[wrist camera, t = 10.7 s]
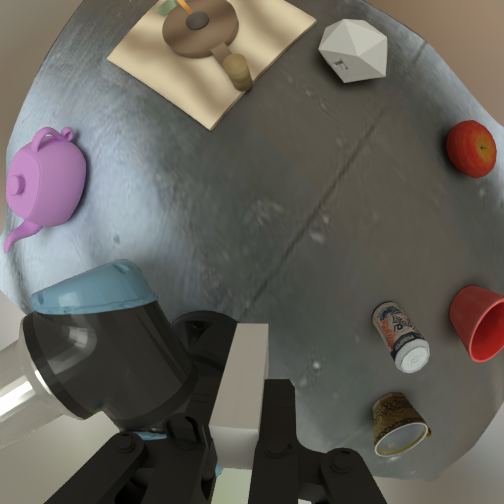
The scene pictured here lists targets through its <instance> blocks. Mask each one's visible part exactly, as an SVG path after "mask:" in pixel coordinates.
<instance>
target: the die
mask: <svg viewBox="0 0 504 504" xmlns="http://www.w3.org/2000/svg"><path fill="white" fill-rule="evenodd" d="M318 50H319V51H320V53H321V54H322V56H323V57H324V59H325V60H326V62H327V63H328V64H329V65H330V66H331V68H332V69H333V70H334V71H335V72H336V73H337V75H338V76H339V77H340V78H341V79H342V80H343V82H344V83H347V82H352V81H358V80H364V79H371V78H378V77H385V74H386V63H387V37H386V36H384V35H383V34H382V33H381V32H379V31H378V30H377V29H375V28H374V27H372V26H371V25H370V24H368V23H367V22H365V21H363V20H347V19H343V20H341V21H339V22H337V23H335V24H333V25H330V26H328V27H326V29H325V31H324V34H323V37H322V40H321V43H320V46H319V49H318Z"/></svg>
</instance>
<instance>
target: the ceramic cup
mask: <svg viewBox="0 0 504 504" xmlns="http://www.w3.org/2000/svg"><path fill="white" fill-rule="evenodd" d="M372 409H373V423H374V448H375V452H376V454H378V455H380V456H394V455H398V454H401V453H403V452H406V451H408V450H409V449H411V448H413V447H414V446H416V445H417V444H418V443H419V442H421V441H422V440H423V438H428V437H429V436H430V435H431V430H430V428H428V426H427V424H426V423H425V421H424V420H423V418H422V417H421V416H420V415H419V413H418V412H417V411H416V410H415V409H414V408H413V407H412V405H411V404H410V403H409V401H408V400H407V399H406V398H405V396H404V395H403V394H401V393H389V394H387V395H385V396H383V397H381V398H379V399H378V400H377V402H376V403H375V404H374V406H373V408H372ZM427 432H429V434H427Z"/></svg>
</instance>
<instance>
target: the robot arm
mask: <svg viewBox="0 0 504 504" xmlns="http://www.w3.org/2000/svg"><path fill="white" fill-rule="evenodd" d="M157 298H158V297H157V295H156V293H154V292H152V290H151V288H150V287H149V285H148V283H147V282H146V280H145V278H144V276H143V275H142V273H141V271H140V270H139V268H138V267H137V266H136V265H135V264H134V263H133V262H131V261H128V260H123V259H121V260H116V261H113V262H110V263H107V264H105V265H102V266H99V267H97V268H94V269H92V270H89V271H86V272H84V273H81V274H79V275H76V276H74V277H71V278H69V279H66V280H64V281H61V282H59V283H57V284H55V285H52V286H50V287H47V288H45V289H43V290H40V291H38V292H36V293H34V294H32V295H31V297H30V301H31V307H32V309H33V312H32V313H30V314H29V315H27V316H25V317H24V318H23V319H22V320H21V323H20V332H19V339H18V340H17V341H15V342H14V343H12V344H10V345H9V346H7V347H6V348H5V349H3V350H2V351H0V449H2V448H3V447H5V446H7V445H9V444H11V443H13V442H15V441H16V440H19V439H20V438H22V437H24V436H26V435H28V434H30V433H31V432H33V431H35V430H37V429H38V428H40V427H42V426H44V425H46V424H47V423H49V422H51V421H52V420H54V419H56V418H58V417H59V416H61V415H63V414H65V415H68V416H70V417H73V418H76V419H78V420H85V419H87V418H89V417H91V416H92V415H94V414H96V413H98V412H100V411H103V412H104V413H105V414H106V415H107V416H108V417H109V418H110V419H111V420H112V421H113V423H114V424H115V425H116V426H117V427H118V428H119V430H120V433H117V434H115V435H114V436H112V437H111V438H110V439H109V440H108V441H107V442H106V443H105V444H104V445H103V446H102V447H101V448H100V449H99V450H98V451H97V452H96V453H95V454H94V455H93V456H92V457H91V458H90V459H89V460H88V461H87V462H86V463H85V464H84V465H83V466H82V467H81V468H80V469H79V470H78V471H77V472H76V473H75V474H74V475H73V476H72V477H71V478H70V479H69V480H68V481H67V482H66V483H65V484H64V485H63V486H62V487H61V488H60V489H59V490H58V491H57V492H55V494H53V495H52V497H50V498H49V499H48V500H47V501H46V502H45V503H44V504H211V501H212V496H213V491H214V487H215V483H216V478H217V477H218V476H219V475H220V474H221V472H222V470H223V468H224V467H225V468H236V469H250V470H252V476H251V484H250V491H249V499H248V504H298V499H302V500H306V501H311V503H312V504H387V502H386V500H385V499H384V497H383V495H382V493H381V491H380V489H379V488H378V486H377V484H376V482H375V480H374V479H373V477H372V475H371V473H370V471H369V469H368V467H367V466H366V464H365V462H364V460H363V458H362V457H361V456H360V454H359V453H358V452H356V451H354V450H352V449H349V448H336V449H333V450H331V451H329V452H327V453H321V452H316V451H313V450H309V449H307V448H305V447H304V446H302V445H301V444H300V443H299V441H298V439H297V435H296V410H295V387H294V386H293V384H292V383H291V381H290V380H289V379H268V368H269V349H268V324H244V323H238V322H237V321H235V320H233V319H232V318H230V317H228V316H225V315H223V314H220V313H216V312H211V311H195V312H190V313H187V314H184V315H182V316H180V317H179V318H177V319H176V320H175V321H174V322H173V323H172V324H170V323H169V321H168V319H167V317H166V316H165V314H164V312H163V311H162V309H161V307H160V305H159V303H158V302H157V300H156V299H157Z"/></svg>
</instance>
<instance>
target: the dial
mask: <svg viewBox="0 0 504 504" xmlns="http://www.w3.org/2000/svg"><path fill="white" fill-rule="evenodd" d="M177 1H178V3H179V5H178V6H176V7H175V8H174V9H173V10H172V11H171V12H170V13H169V14H168V16H167V17H166V19H165V21H164V23H163V27H162V35H163V38H164V40H165V42H166V43H167V44H168V45H169V46H170V47H171V48H172V49H173V51H175V52H176V53H177V54H179V55H181V56H183V57H187V58H204V57H208V56H211V55H214V57H215V58H216V59H217V61H218V62H219V64H220V65H221V66H222V68H223V69H224V70H225V72H226V73H227V75H228V76H229V78H230V80H231V82H232V84H233V85H234V87H235V89H236V90H238V91H247V90H249V89H250V88H251V87H252V84H253V81H252V78H251V74H250V71H249V68H248V65H247V61H246V59H245V57H244V56H243V55H241V54H237V53H234V54H233V53H232V52H231V51H230V49H229V48H228V47H227V46H228V45H229V44H231V42H232V41H233V40H234V39H235V37H236V35H237V33H238V29H239V21H238V18H237V15H236V11H235V9H234V7H233V6H232V4H231V3H229V2H228V1H227V0H186V1H184V0H177Z"/></svg>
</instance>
